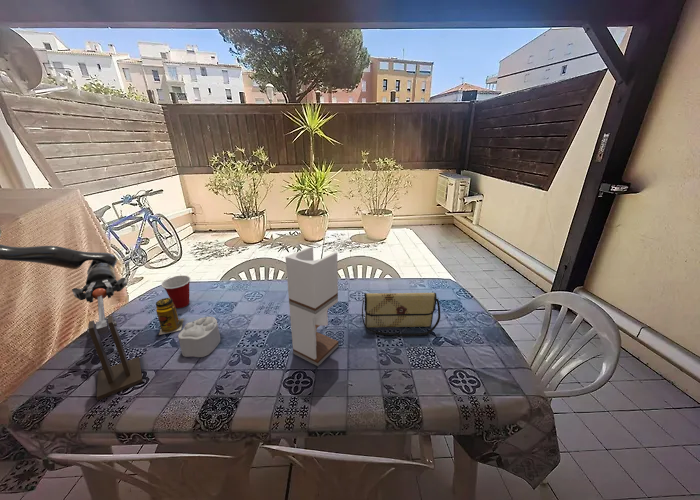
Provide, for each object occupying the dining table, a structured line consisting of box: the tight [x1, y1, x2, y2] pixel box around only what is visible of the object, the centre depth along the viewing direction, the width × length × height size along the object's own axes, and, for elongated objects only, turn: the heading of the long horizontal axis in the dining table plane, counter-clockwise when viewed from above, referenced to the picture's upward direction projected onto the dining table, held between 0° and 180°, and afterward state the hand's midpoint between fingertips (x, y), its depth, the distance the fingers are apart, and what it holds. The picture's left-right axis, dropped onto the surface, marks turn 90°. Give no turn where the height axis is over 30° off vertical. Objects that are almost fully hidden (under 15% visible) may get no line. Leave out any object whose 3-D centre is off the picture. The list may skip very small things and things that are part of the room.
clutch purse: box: [360, 292, 441, 337], centre depth 101 cm, size 30×7×15 cm, turn 92°
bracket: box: [86, 315, 144, 401], centre depth 78 cm, size 12×10×20 cm
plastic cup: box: [160, 275, 191, 309], centre depth 118 cm, size 11×11×12 cm
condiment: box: [155, 297, 185, 336], centre depth 103 cm, size 7×8×12 cm
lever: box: [92, 288, 110, 336], centre depth 80 cm, size 19×4×4 cm, turn 39°
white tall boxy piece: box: [284, 246, 339, 367], centre depth 87 cm, size 11×11×35 cm
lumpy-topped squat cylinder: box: [177, 316, 221, 358], centre depth 94 cm, size 10×13×9 cm
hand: (99, 297), depth 83 cm, fingers closed on lever, 3 cm apart
